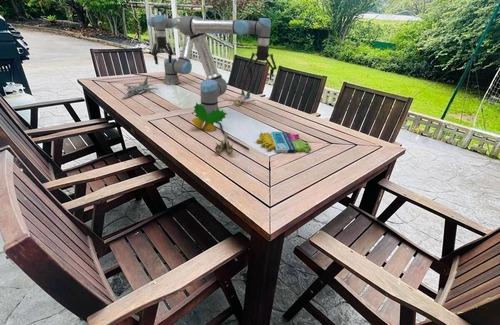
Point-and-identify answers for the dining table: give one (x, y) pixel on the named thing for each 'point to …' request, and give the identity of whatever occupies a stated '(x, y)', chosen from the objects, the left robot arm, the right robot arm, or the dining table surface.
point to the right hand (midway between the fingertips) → (260, 79)
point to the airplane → (138, 89)
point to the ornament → (207, 117)
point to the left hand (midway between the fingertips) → (163, 63)
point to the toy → (241, 99)
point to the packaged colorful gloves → (283, 142)
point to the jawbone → (224, 145)
